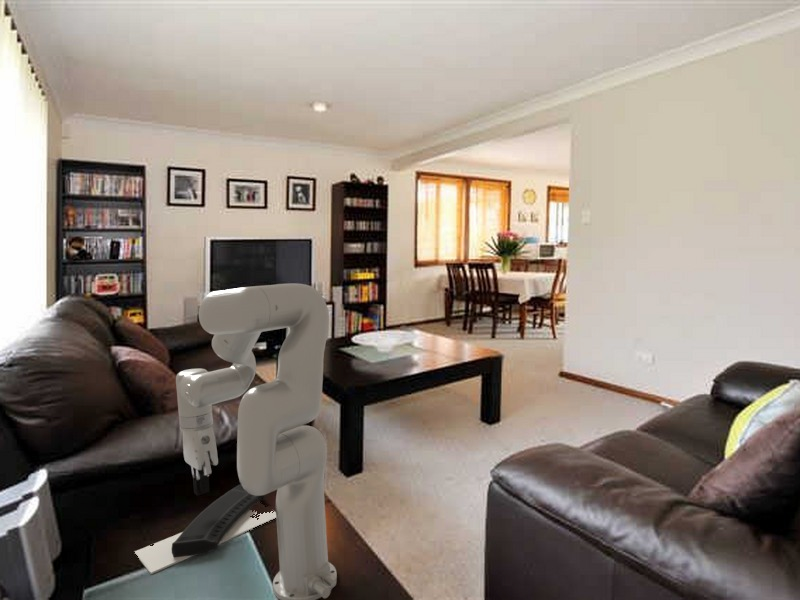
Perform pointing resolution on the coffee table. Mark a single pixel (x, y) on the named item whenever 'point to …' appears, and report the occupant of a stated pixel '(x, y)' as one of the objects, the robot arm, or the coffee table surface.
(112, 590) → the coffee table surface
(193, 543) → the magazine
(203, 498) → the coffee table surface
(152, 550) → the felt mat
